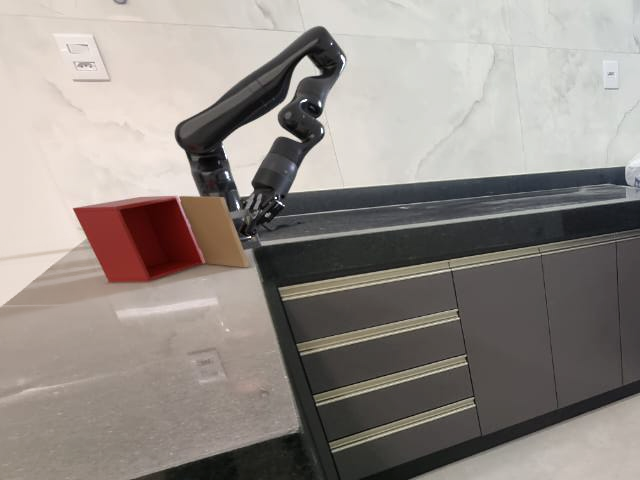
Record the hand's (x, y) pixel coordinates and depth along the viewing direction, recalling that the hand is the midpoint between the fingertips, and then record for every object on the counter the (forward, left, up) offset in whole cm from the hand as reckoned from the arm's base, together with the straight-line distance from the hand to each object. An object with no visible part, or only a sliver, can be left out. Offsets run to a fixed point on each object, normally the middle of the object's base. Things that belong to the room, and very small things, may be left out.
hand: (245, 234), depth 128 cm
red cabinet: (+7, -19, -7) cm, 22 cm away
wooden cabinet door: (-1, -5, -7) cm, 9 cm away
